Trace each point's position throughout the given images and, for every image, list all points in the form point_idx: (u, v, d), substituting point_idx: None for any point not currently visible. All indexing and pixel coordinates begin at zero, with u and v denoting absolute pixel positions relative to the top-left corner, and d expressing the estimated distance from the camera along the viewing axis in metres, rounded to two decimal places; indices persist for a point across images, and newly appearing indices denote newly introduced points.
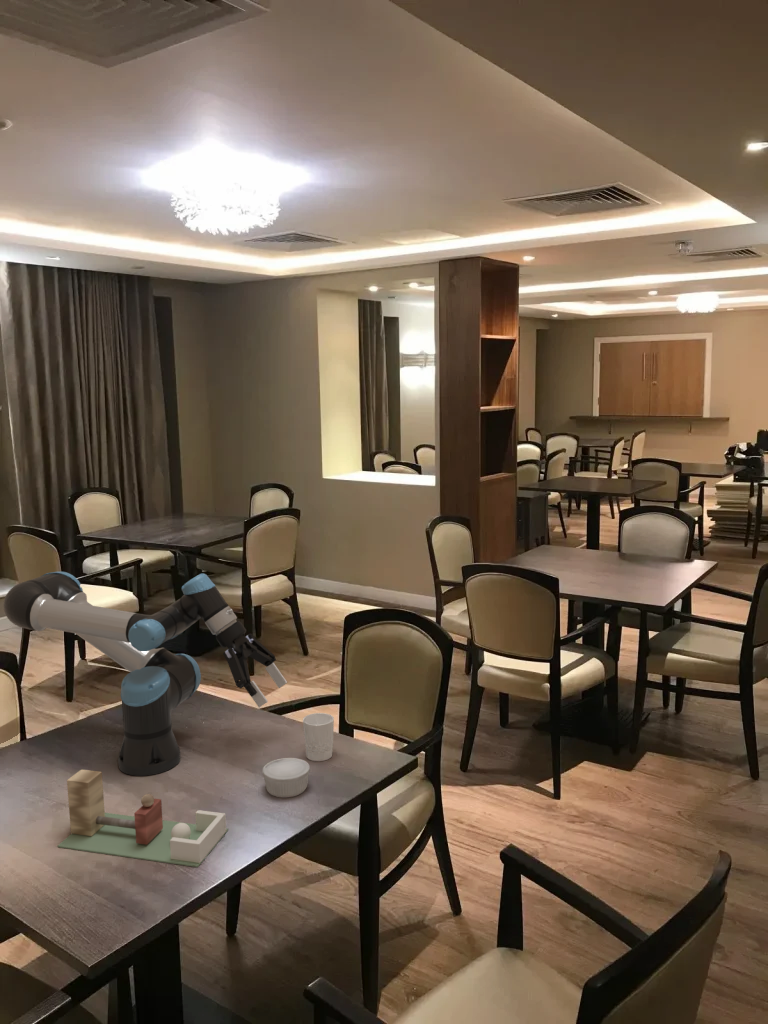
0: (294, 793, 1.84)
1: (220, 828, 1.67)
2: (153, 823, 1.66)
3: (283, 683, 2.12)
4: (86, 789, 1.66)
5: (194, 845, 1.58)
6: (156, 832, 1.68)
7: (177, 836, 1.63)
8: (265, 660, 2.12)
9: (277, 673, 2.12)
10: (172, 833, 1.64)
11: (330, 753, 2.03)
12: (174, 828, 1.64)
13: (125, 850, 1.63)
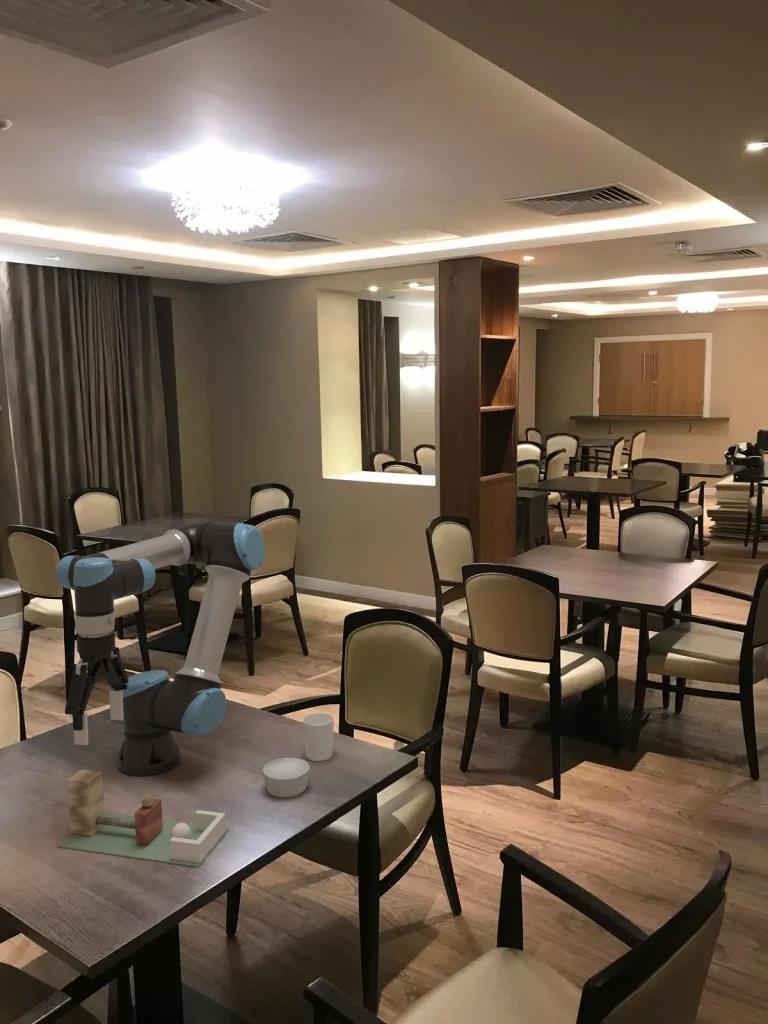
0: (294, 793, 1.84)
1: (220, 828, 1.67)
2: (153, 823, 1.66)
3: (118, 718, 1.74)
4: (86, 789, 1.66)
5: (194, 845, 1.58)
6: (156, 832, 1.68)
7: (177, 836, 1.63)
8: (115, 684, 1.73)
9: (118, 704, 1.73)
10: (172, 833, 1.64)
11: (330, 753, 2.03)
12: (174, 828, 1.64)
13: (125, 850, 1.63)
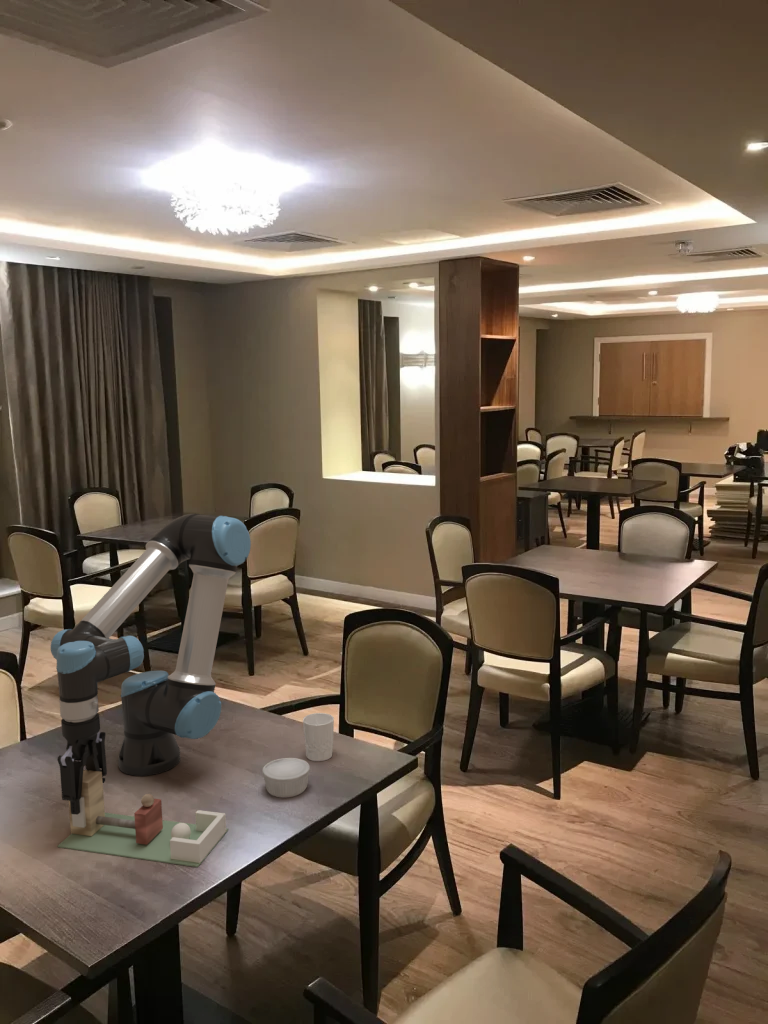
0: (294, 793, 1.84)
1: (220, 828, 1.67)
2: (153, 823, 1.66)
3: None
4: (86, 789, 1.66)
5: (194, 845, 1.58)
6: (156, 832, 1.68)
7: (177, 836, 1.63)
8: None
9: None
10: (172, 833, 1.64)
11: (330, 753, 2.03)
12: (174, 828, 1.64)
13: (125, 850, 1.63)
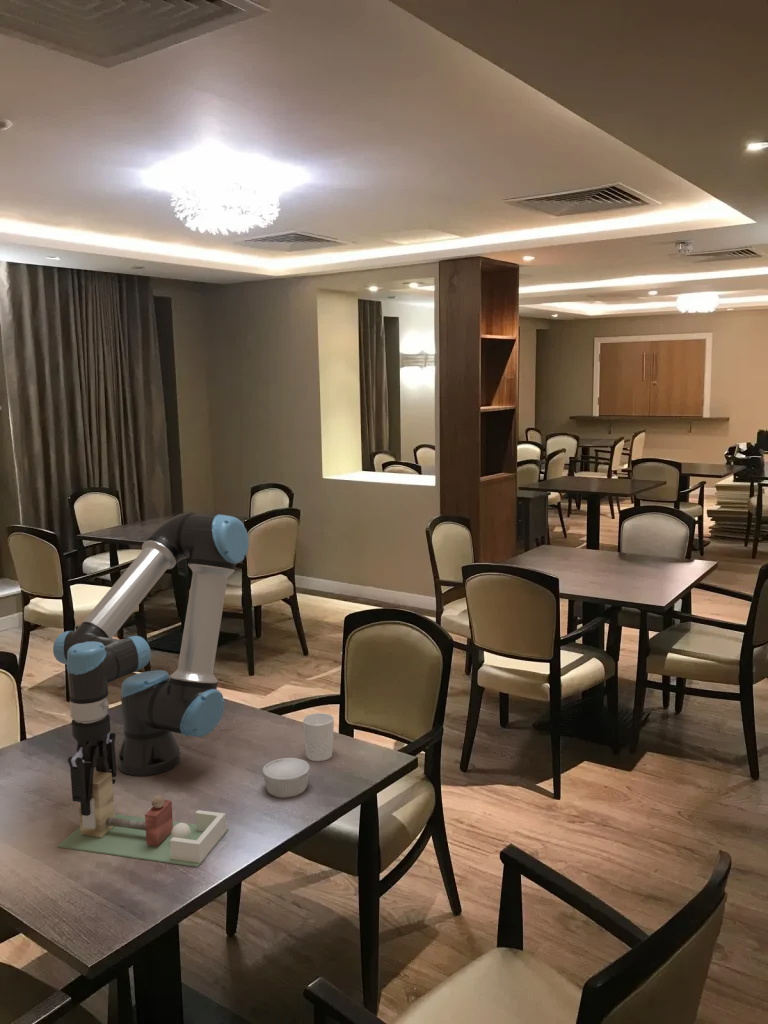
0: (294, 793, 1.84)
1: (220, 828, 1.67)
2: (164, 825, 1.66)
3: None
4: (96, 790, 1.66)
5: (194, 845, 1.58)
6: (166, 833, 1.67)
7: (177, 836, 1.63)
8: None
9: None
10: (172, 833, 1.64)
11: (330, 753, 2.03)
12: (174, 828, 1.64)
13: (125, 850, 1.63)
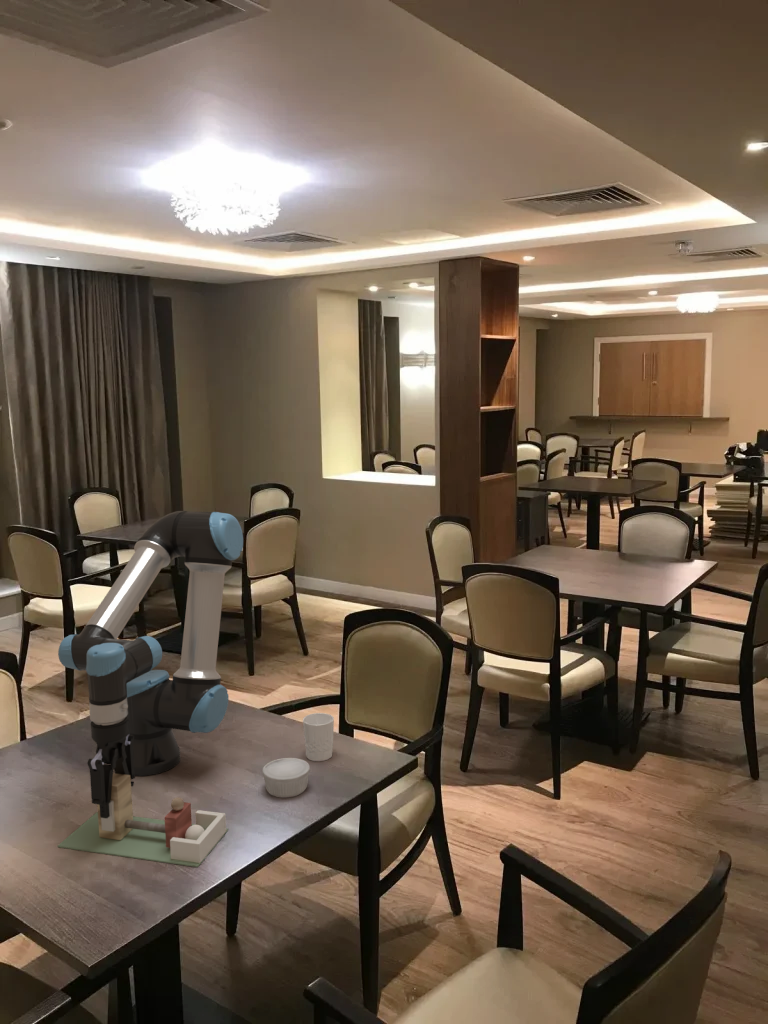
0: (294, 793, 1.84)
1: (220, 828, 1.67)
2: (183, 827, 1.65)
3: None
4: (115, 793, 1.65)
5: (194, 845, 1.58)
6: None
7: None
8: None
9: None
10: (193, 834, 1.63)
11: (330, 753, 2.03)
12: (198, 833, 1.63)
13: (125, 850, 1.63)
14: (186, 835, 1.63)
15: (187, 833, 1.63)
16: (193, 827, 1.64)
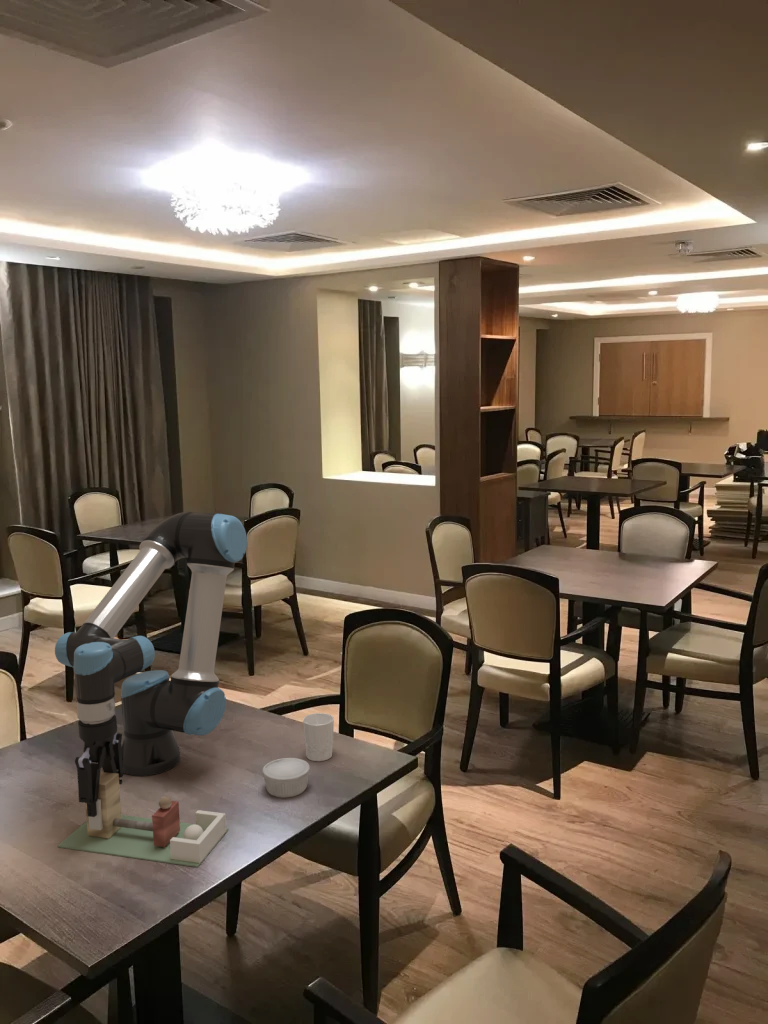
0: (294, 793, 1.84)
1: (220, 828, 1.67)
2: (171, 826, 1.65)
3: None
4: (103, 791, 1.66)
5: (194, 845, 1.58)
6: (173, 834, 1.67)
7: None
8: None
9: None
10: (191, 833, 1.63)
11: (330, 753, 2.03)
12: (196, 832, 1.63)
13: (125, 850, 1.63)
14: (184, 836, 1.63)
15: (185, 833, 1.63)
16: (190, 827, 1.64)
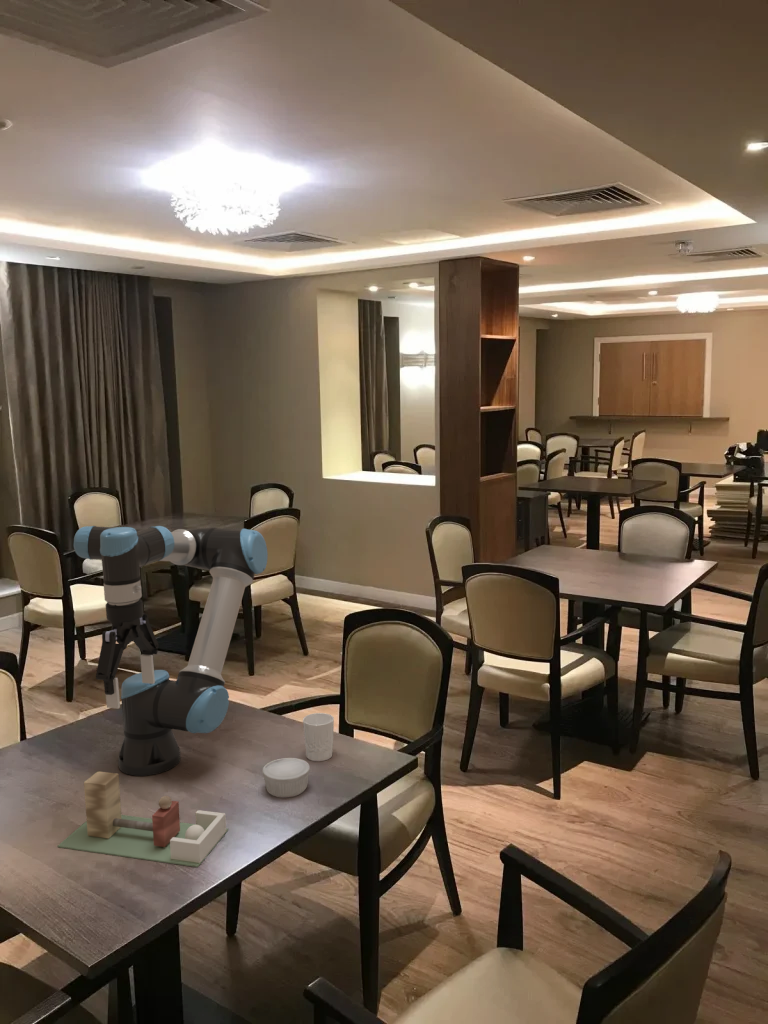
0: (294, 793, 1.84)
1: (220, 828, 1.67)
2: (171, 826, 1.65)
3: (149, 681, 1.79)
4: (103, 791, 1.66)
5: (194, 845, 1.58)
6: (173, 834, 1.67)
7: None
8: (145, 649, 1.77)
9: (149, 668, 1.78)
10: (193, 834, 1.63)
11: (330, 753, 2.03)
12: (198, 833, 1.63)
13: (125, 850, 1.63)
14: (186, 835, 1.63)
15: (187, 833, 1.63)
16: (193, 827, 1.64)
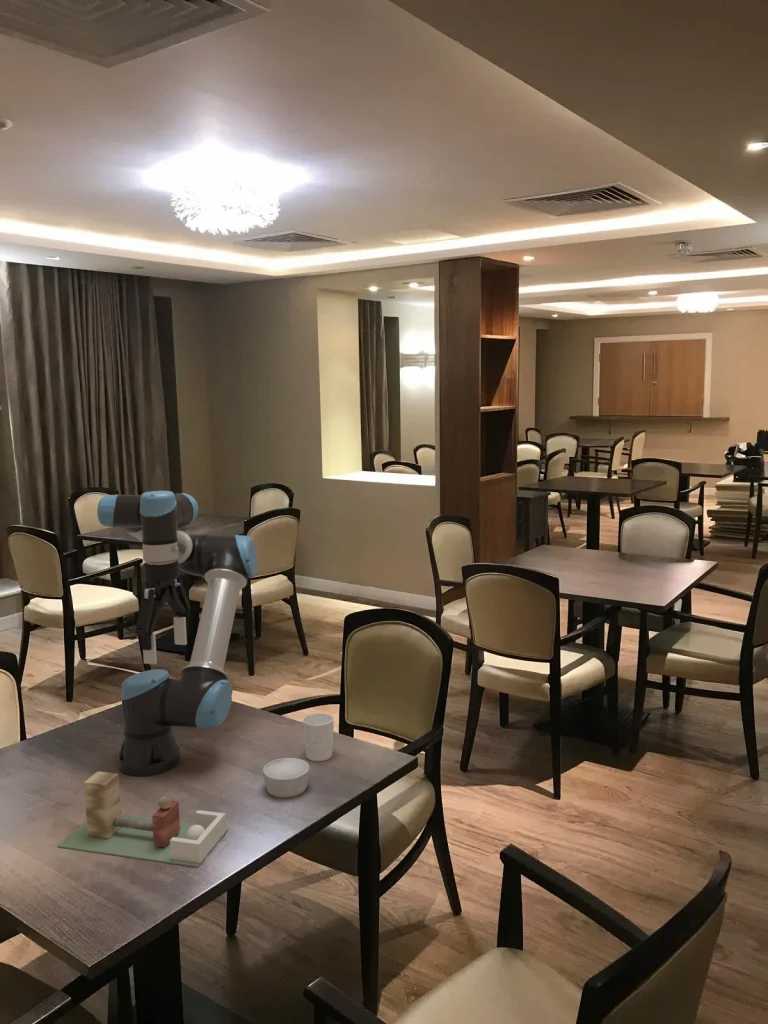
0: (294, 793, 1.84)
1: (220, 828, 1.67)
2: (171, 826, 1.65)
3: (182, 643, 1.86)
4: (103, 791, 1.66)
5: (194, 845, 1.58)
6: (173, 834, 1.67)
7: None
8: (178, 611, 1.84)
9: (182, 630, 1.85)
10: (195, 834, 1.63)
11: (330, 753, 2.03)
12: (200, 834, 1.63)
13: (125, 850, 1.63)
14: (187, 835, 1.63)
15: (189, 833, 1.63)
16: (195, 827, 1.64)
